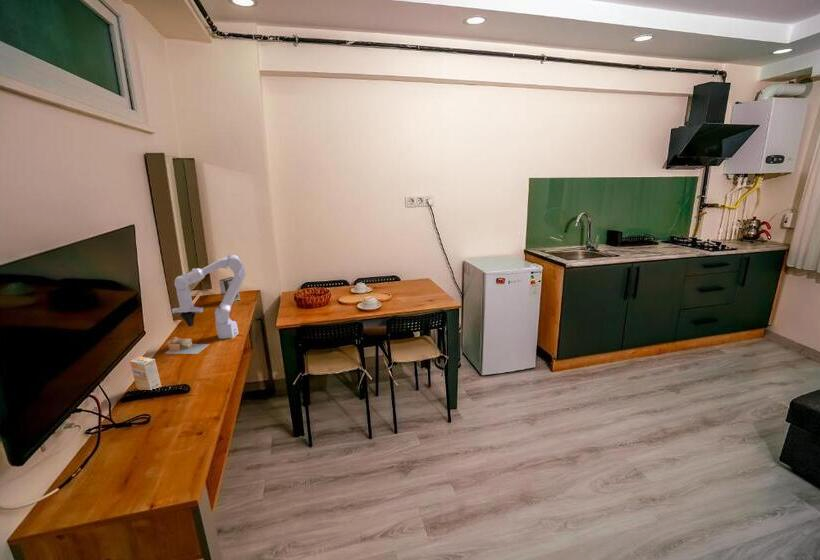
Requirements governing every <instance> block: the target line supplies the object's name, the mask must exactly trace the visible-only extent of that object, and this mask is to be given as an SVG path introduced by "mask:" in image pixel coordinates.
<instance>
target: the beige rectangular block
mask: <svg viewBox="0 0 820 560" xmlns="http://www.w3.org/2000/svg"><path fill="white" fill-rule="evenodd" d="M172 344H179V345H180V349H189V348H191V347H192V346H193V345H192V344H193V341H192V338H183V337H181V338H179V337H177V338H176V339H174V340H173V341H172Z"/></svg>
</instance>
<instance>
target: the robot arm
mask: <svg viewBox="0 0 820 560" xmlns="http://www.w3.org/2000/svg"><path fill="white" fill-rule="evenodd" d="M228 268H229V269H230V270H231V271H232V272H233V274H234V275H233V276H232V277H233V279H232V281H231V283H230V286H229V288H228V290H227V292H226V294H225V297H224V299H223V301H221V302H220V303H219V306H218V307H216V308H215V309H214V316H215V322H214V323H215V327H216V329H215V330H216V335H217V337H218V339H221V340H222V339H233V338H235V337H236V336H237V335H239V328H238V322H237V321H235V320H232V319H231V318H230V312H231V310H232V307H233V306H232V305H233V304H234V303H233V301H234V299H235V297H236V295H237V293H238V290H239V291H240V288H241V286H242V284H243V282H244V279H245V277H246V271H245V267H244V264H243V262H242V260H241V258H240V256H239V255H237V254H234V253H232V254H229V255H227V256H224V257H221V258H220V259H217V260H216V261H214V262H212V263H210V264H208V265H206V266H204V267H203V268H199V267H197V268H192V269H191V270H190V271H188V272H187V273H182V274H181V275H178V276H176V278H175V279H174V287H175V289H176V291H175V292H176V296H177V300H178V304H179V307H175V308H172V309H171V313H172V314H177V313H181V314H180V317H181V318H182V319H183V320H184V321H185V323H186V324H187V326H188V327H189V328H190V327H192V326H194V320H195V316H196V314H197V313H203V312H204V307H199V306H195V305H194V303H193V298H192V292H191V289H190V286H189V285H193V284H195V283H198V282H199V281H202V280H204V279H205V277H206V275H207V274H210V273H212V272H215V271H216V270H219V269H228Z"/></svg>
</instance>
